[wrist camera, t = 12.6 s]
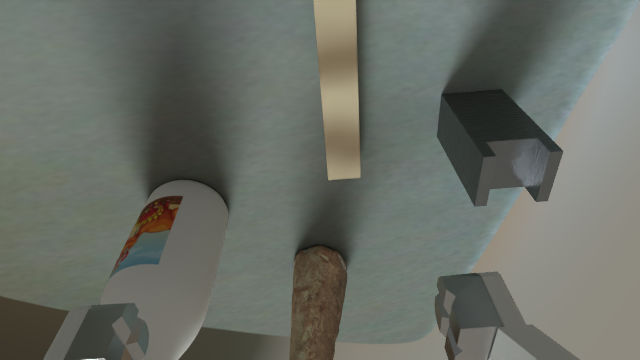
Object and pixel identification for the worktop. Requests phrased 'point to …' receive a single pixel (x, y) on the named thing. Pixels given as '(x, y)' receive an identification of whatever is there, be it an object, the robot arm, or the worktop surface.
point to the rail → (339, 85)
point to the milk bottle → (171, 264)
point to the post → (496, 145)
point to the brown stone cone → (316, 303)
